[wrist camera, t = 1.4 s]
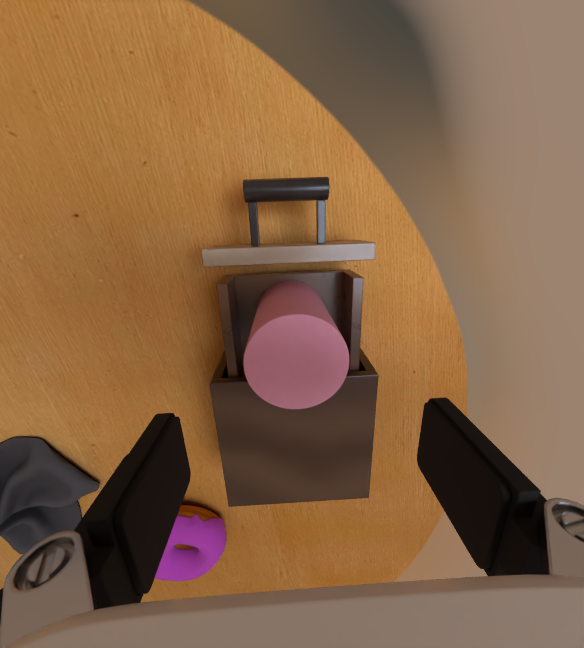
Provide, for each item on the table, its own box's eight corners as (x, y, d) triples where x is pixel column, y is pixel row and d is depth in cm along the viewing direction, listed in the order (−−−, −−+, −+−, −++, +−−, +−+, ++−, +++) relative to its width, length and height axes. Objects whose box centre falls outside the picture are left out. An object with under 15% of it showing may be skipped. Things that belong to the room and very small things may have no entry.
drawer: (208, 187, 22) (190, 177, 18) (360, 182, 23) (380, 170, 18) (231, 372, 28) (222, 401, 23) (352, 366, 28) (366, 393, 24)
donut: (205, 559, 38) (195, 601, 34) (135, 534, 36) (115, 575, 32) (241, 513, 36) (236, 552, 31) (168, 483, 33) (152, 521, 29)
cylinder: (254, 281, 24) (238, 316, 14) (323, 278, 24) (351, 311, 14) (260, 345, 26) (248, 412, 16) (323, 342, 26) (348, 406, 16)
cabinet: (225, 349, 28) (209, 383, 22) (357, 342, 28) (378, 374, 22) (238, 453, 32) (228, 507, 26) (352, 446, 33) (369, 498, 26)
